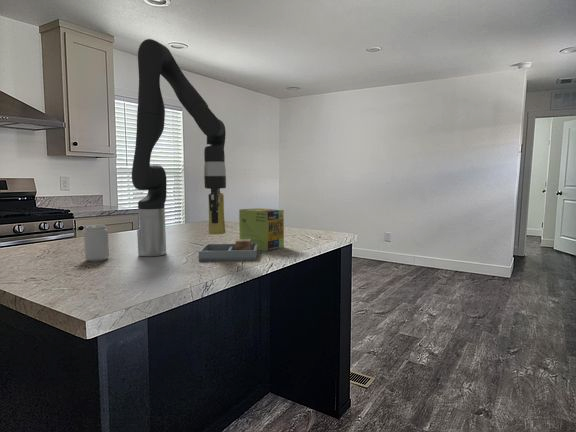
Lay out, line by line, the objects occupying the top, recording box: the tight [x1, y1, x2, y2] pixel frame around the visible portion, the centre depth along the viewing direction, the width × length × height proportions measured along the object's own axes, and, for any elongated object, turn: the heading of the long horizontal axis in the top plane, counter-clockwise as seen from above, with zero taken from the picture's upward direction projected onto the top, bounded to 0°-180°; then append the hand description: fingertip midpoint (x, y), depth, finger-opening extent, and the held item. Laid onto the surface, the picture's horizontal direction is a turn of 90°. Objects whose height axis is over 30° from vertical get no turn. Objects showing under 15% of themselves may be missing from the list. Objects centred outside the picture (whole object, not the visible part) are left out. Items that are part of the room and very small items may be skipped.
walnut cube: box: [234, 238, 251, 250], centre depth 141 cm, size 5×5×5 cm
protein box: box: [238, 207, 285, 252], centre depth 158 cm, size 10×15×16 cm
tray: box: [197, 243, 259, 262], centre depth 141 cm, size 20×15×3 cm
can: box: [83, 224, 110, 262], centre depth 136 cm, size 8×8×12 cm
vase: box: [207, 192, 227, 235], centre depth 139 cm, size 6×6×14 cm
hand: (216, 222), depth 140 cm, fingers closed on vase, 5 cm apart
